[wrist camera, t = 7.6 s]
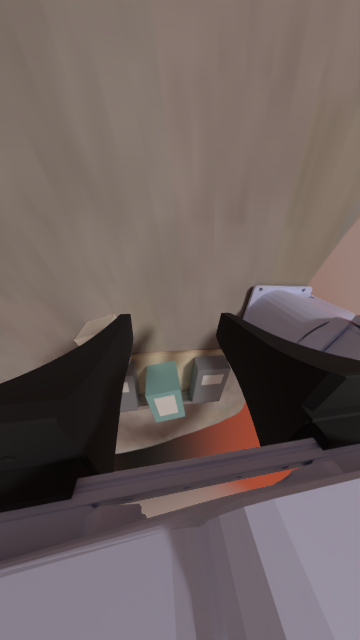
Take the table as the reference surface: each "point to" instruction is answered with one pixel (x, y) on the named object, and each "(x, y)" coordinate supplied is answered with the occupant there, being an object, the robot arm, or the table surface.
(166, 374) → the teal module
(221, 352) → the board
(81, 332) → the block
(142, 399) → the rail
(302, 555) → the robot arm
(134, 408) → the mounted modules
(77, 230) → the table surface
